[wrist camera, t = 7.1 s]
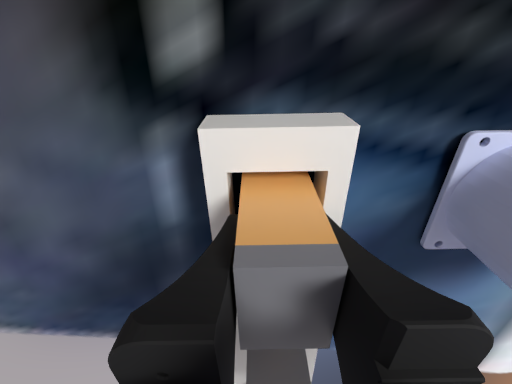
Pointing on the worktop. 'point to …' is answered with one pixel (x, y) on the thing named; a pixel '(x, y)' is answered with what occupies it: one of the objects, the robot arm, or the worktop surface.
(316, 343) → the plug
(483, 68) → the worktop surface
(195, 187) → the worktop surface
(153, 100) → the worktop surface
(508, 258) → the robot arm
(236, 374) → the pdu strip
